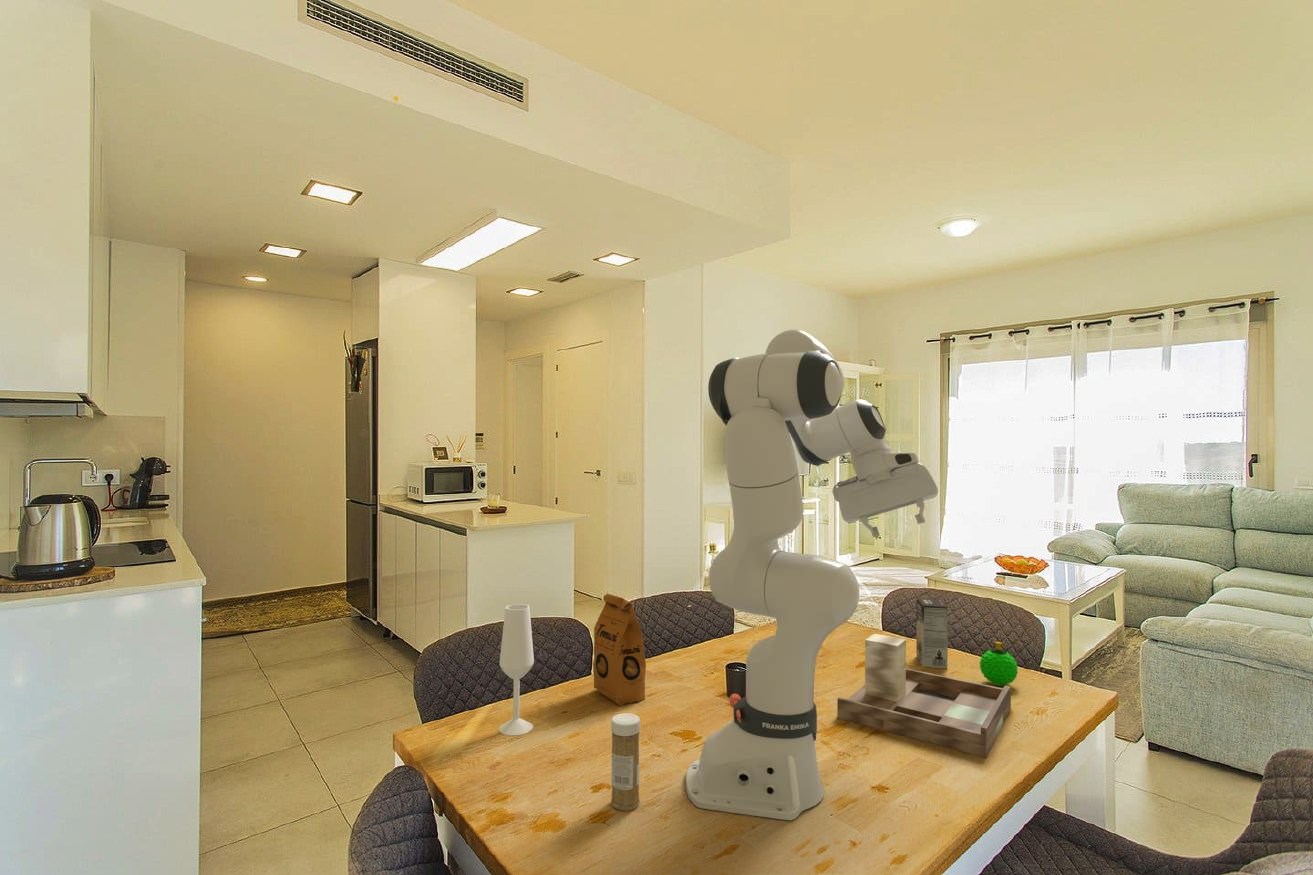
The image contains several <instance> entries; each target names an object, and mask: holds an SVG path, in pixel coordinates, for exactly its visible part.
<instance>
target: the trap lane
mask: <svg viewBox="0 0 1313 875" xmlns="http://www.w3.org/2000/svg"><path fill="white" fill-rule="evenodd" d="M1003 686H1004V687H1003V688H1002V687H997V686H994V685H993V686H992V685H988V684H984V683H983V684H982V683H977V682H974V681H969V680H963V679H960V678H959V679H958V678H956V677H954V678H953V677H951V676H945V675H940V674H935V673H931V672H926V671H920V670H915V669H912V668H907V667H906V694H905V695H904V696H903V697H902V698H901V699H900V700H899V701H898V702H894V701H890V700H886V699H882V698H878V697H874V696H870V695H865V684H864V685H863V686H862V687H861V688H859V689H858V690H857V691H855V693H853V694H852V695H851V696H850V697H849V698H843V697H840V696H839V697H837V700H836V701H837V713H836V714H837V716H836V717H837V718H838V719H841V720H845V721H849V722H852V723H855V724H859V725H862V726H867V727H871V728H874V729H878V730H882V731H885V732H888V733H893V734H897V735H899V736H904V737H907V738H910V739H915V740H919V741H923V742H925V743H926V742H927V743H929V744H933V745H937V746H940V747H944V748H949V749H952V750H955V751H960V752H964V753H967V754H970V755H974V756H977V757H982V758H987V757H988V754H989V753H990V751H991V748H992V746H993V745H994V743H995V742H996V741H995V740H996V738H997V737H998V734H999V733H1000V730H1001V729H1002V727H1003V725H1004V723H1005V721H1006V719H1007V717H1008V715H1009V713H1010V711H1011V708H1012V706H1011V705H1012V704H1011V703H1012V702H1011V701H1012V700H1011V699H1012V698H1011V696H1012V694H1011V693H1012V692H1011V691H1012V690H1011V686H1008V685H1003Z"/></svg>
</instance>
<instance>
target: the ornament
mask: <svg viewBox="0 0 1313 875" xmlns="http://www.w3.org/2000/svg"><path fill="white" fill-rule="evenodd" d="M1002 644H1003V643H1002V642H1001V641H995V648H991V649H990V650H988V651H986V652H984V653H983V655H981V658H980V659H979V660H980V661H979V668H980V671H981V674H982V675H983V676H984V678H986V680H987V681H988V682H991V684H995V685H996V686H1008V685H1009V684H1010V683H1012V682H1014V680H1015V679H1017V675H1018V673H1019V672H1018V669H1019V668H1018V665H1017V664H1018V663H1017V661H1016V660H1015V658H1014V657H1013V656H1012V655H1011V653H1008V652H1007V651H1006V650H1004V649H1003V648H1002Z"/></svg>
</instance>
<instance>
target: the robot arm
mask: <svg viewBox="0 0 1313 875" xmlns="http://www.w3.org/2000/svg"><path fill="white" fill-rule="evenodd" d="M844 385H845V378H844V374H843V371H842V369H841V367H840V364H839V363H838V361H837V360H836V358H835V357H834V356H833V354H832V353H831V351H829V350H828V348H827V347H826V346H825V345H824V344H823V343H821V342H820V341H819V340H818V339H817V338H815V337H814V336H812V335H811V334H809V333H807V332H805V331H804V330H800V329H788V330H784V331H782V332H780V333H778V334H777V335H775V336H774V337H773V338H772V339H771V340H770V342H769V343H768V346H767V347H766V350H765V353H760V354H755V355H754V354H753V355H748V356H745V357H741V358H739V357H733V358H730V359H726V360H724V361H721V362H719V363H717V364H716V365H715V366H714V369H713V370H712V372H711V374H710V377H709V379H708V386H707V387H708V388H707V389H708V391H707V392H708V393H707V394H708V399H709V402H710V404H711V407H712V408H713V410H714V411H715V413H716V415H717V416H718V417H719V419H721V421H722V422H723V424H724V425H725V444H724V446H725V447H724V448H725V449H724V451H725V465H726V472H727V479H728V485H729V491H730V492H729V493H730V498H731V505H732V514H733V516H732V517H733V528H732V529H733V530H732V535H731V538H730V540H729V542H728V544H727V545H726V547H724V549H722V550H721V551H720V552H718V553H717V555H716V556H715V557H714V558H713V560H712V562H711V565H710V567H709V572H708V586H709V590H710V592H711V594H712V596H713V599H715V601H716V602H718V603H720V604H721V605H722V604H723V605H725V606H727V607H729V608H731V609H734V610H736V611H739V612H741V613H745V614H752V615H758V616H763V617H766V618H767V617H768V618H773V619H776V629H775V633H774V635H771V636H769V637H766V638H763V639H762V640H759V641H757V642H756V643H755V644H753V645H752V647H751V648H750V650H749V651H748V653H747V655H746V659H745V663H746V664H745V667H746V668H745V696H744V697H742V698H741V696H740V695H739V694H738V693H732V694H730V696H729V699H728V700H729V701H728V702H729V705H730V707H731V708H732V709H733V712H732V713H733V720H731V721H729V722H727V724H725V725H724V726H722V727H721V728H719V729H718V730H716V731H715V732H713V733H711V734H710V735H709V736H708V737H707V738H706V739H705V741H704V743H703V746H702V748H701V753H700V756H699V759H697V760H695V761H693V762H692V763H691V764H690V765H689V766H688V769H687V772H686V777H685V790H686V793H687V797H688V798H689V799H690V801H691V802H692V803H693V804H694V805H695V807H697V808H699V809H705V810H711V811H719V812H725V813H726V812H727V813H732V814H741V815H746V816H747V815H748V816H754V817H755V816H756V817H761V818H762V817H763V818H770V819H776V820H777V819H778V820H783V821H784V820H785V821H792V820H795V819H797V818H798V817H799V815H800V814H801V813H802V812H804V811H805V810H808V809H811V808H812V807H815V806H816V805H818V804H819V803H820V802H821V801H822V799H823V797H824V795H825V794H824V793H825V792H824V788H823V784H822V779H821V776H820V771H819V767H818V766H819V765H818V759H817V751H816V742H815V741H816V740H817V733H818V711H817V705H816V704H815V700H814V699H815V692H814V691H815V676H816V675H815V674H816V665H817V664H816V663H817V659H818V654H819V651H820V649H821V646H822V645H823V643H824V642H825V640H826V639H827V637H828V636H829V635H830V634H831V633H832V632H833V631H834V630H836V629H837V628H838V627H840V626H842V625H844V624H845V623H846V622H848V621H849V620H850V619H851V618H852V616H853V615H854V613H855V612H856V610H857V607H858V604H859V600H860V587H859V583H858V580H857V577H856V574H855V573H854V571H853V570H852V569H851V568H850V566H849V565H848V564H846V563H843V562H840V561H838V560H835V559H832V558H828V557H825V556H822V555H818V554H809V553H808V554H807V553H798V552H790V551H785V550H781V548H780V547H779V542H778V541H779V539H782V538H784V537H785V536H787V535H789V534H791V533H792V532H794V531H795V530H796V529H797V528H798V527H799V525H800V524H801V522H802V520H803V517H804V510H805V509H804V504H803V502H804V501H803V495H802V488H801V483H800V482H801V480H800V475H799V469H798V463H797V458H796V454H795V448H796V452H797V454H798V455H799V457H800V458H801V459H802V460H803V462H805V463H807V464H809V465H811V466H816V467H819V466H822V465H823V464H825V463H828V462H829V461H831V460H832V459H835V458H838V457H840V456H841V457H842V456H843V455H846V454H848V453H849V454H850V457H851V460H850V462H851V465H852V468H853V470H854V473H855V476H853V477H850V478H848V479H845V480H840V481H838V482H837V483H836V484H835V485H834V486H833V488H832V494H833V498H834V500H835V501H836V502H838V504H839V506H838V507H839V510H840V513H841V517H842V520H843V521H845V522H846V523H848V524H851V523H854V522H858V521H861V523H862V525H863V526H864V527H865V528H867V529H868V530H869V531H870V533H871V536H872V537H873V538H876V537H880V536H881V535H880V532H879V529H878V526H874V527H873V526H872V525H871V524H869V523H870V520H869V518H872V517H875V516H878V515H881V514H885V513H888V512H893V511H894V510H898V509H901V508H902V509H903V508H905V507H908V506H911V505H915V504H916V507H917V508H919V511H918V513H917V514H915V515H914V517H915V520H916V522H917V525H921V524H925V523H926V520H925V517H924V510H925V501H928V500H931V499H935V498H937V496H938V494H939V493H938V492H939V490H938V486H937V485H936V481H935V480H934V478H933V476H932V474H931V473H930V471H929V470H928V468H927V467H926V466H925V465H924V464H922V463H920V460H919V457H918V456H917V454H916V453H915V452H892V448H890V446H889V444H888V443H887V441H886V440H887V439H886V431H887V428H886V425H885V424H884V421H883V418H882V415H881V413H880V411H879V409H878V408H877V407H876V406H875V405H874V404H872V403H869V402H868V401H866V400H864V399H853V400H850V401H847V402H846V403H843V404H842V405H841V406H839V407H837V406H838V405H839V404H840V400H841V398H842V397H841V396H842V394H843V390H844V387H845V386H844ZM792 440H793V442H792ZM793 443H794V445H795V446H794V445H793ZM794 447H795V448H794Z"/></svg>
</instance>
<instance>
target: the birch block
mask: <svg viewBox="0 0 1313 875" xmlns="http://www.w3.org/2000/svg"><path fill="white" fill-rule="evenodd" d="M864 640H865V642H864V644H865V646H864V649H865V650H864V651H865V652H864V656H865V657H864V677H865V678H864V680H865V681H864V685H865V695H870V696H874V697H878V698H882V699H886V700H890V701H894V702H898V701H899V700H900V699H901V698H902V697H903V696H904V695H905V694H906V668H907V639H906V638H900V637H894V636H889V635H884V634H877V633H873V634H872V635H870V636H869V637H867V638H866V639H864Z"/></svg>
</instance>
